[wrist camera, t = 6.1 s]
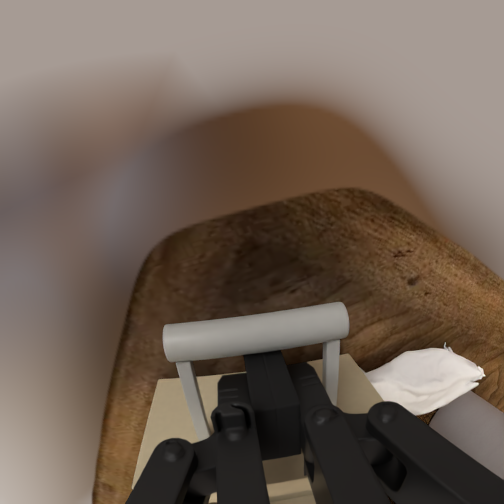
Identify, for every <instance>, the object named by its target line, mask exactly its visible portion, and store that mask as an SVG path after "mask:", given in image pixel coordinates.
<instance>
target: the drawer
mask: <svg viewBox="0 0 504 504" xmlns="http://www.w3.org/2000/svg"><path fill="white" fill-rule="evenodd" d="M348 333H349V317H348V313H347V310H346V308H345V306H344V304H343V303H342V302H334V303H328V304H322V305H316V306H310V307H304V308H297V309H291V310H284V311H277V312H270V313H263V314H256V315H248V316H240V317H232V318H224V319H215V320H206V321H197V322H187V323H176V324H167V325H165V326H164V329H163V346H164V351H165V355H166V357H167V359H168V361H169V362H176V366H177V370H178V374H179V377H180V378H174V379H159V380H158V383H157V387H156V390H155V394H154V398H153V401H152V405H151V409H150V413H149V417H148V420H147V424H146V428H145V432H144V436H143V440H142V444H141V449H140V453H139V457H138V461H137V466H136V470H135V474H134V479H133V484H132V490H133V488H134V486H135V484H136V483H137V481H138V479H139V477H140V475H141V473H142V471H143V469H144V468H145V466H146V464H147V462H148V460H149V458H150V456H151V454H152V452H153V450H154V449H155V447H156V446H157V445H158V444H159V443H161V442H162V441H164V440H166V439H170V438H182V439H185V440H187V441H189V442H190V443H191V444H192V443H195V442H199V441H202V440H204V439H207V438H208V437H210V436H211V435H212V434H213V433H214V428H213V424H212V421H211V413H212V411H213V410H214V409H215V408H216V407H217V406H218V391H217V383H218V381H219V380H220V378H221V377H222V375H229V374H222V375H212V376H201V377H196V373H195V369H194V365H193V360H204V359H214V358H223V357H232V356H240V355H248V354H255V353H263V352H269V351H276V350H282V349H288V348H294V347H300V346H306V345H311V344H317V343H322V342H323V359H320V360H315V361H309V362H307V363H308V364H310V365H311V366H312V367H314V369H315V371H316V373H317V374H318V376H319V378H320V380H321V382H322V384H323V386H324V388H325V390H326V392H327V394H328V396H329V398H330V400H331V402H332V404H333V405H334V406H337V407H339V408H340V409H341V410H342V411H343V412H345V413H350V414H361V413H368V411H369V409H370V408H371V407H372V406H373V405H374V404H376V403H379V402H383V401H384V400H383V399H382V397H381V396H380V395H379V393H378V392H377V391H376V389H375V388H374V387H373V385H372V384H371V383H370V381H369V380H368V379H367V377H366V376H365V375H364V373H363V372H362V370H361V369H360V368H359V366H358V365H357V364H356V362H355V361H354V360H353V358H352V357H351V356H350V354H349V353H348V354H343V355H340V339H342V338H345V337H347V335H348ZM239 373H245V372H239ZM231 374H237V373H231ZM262 463H263V468H264V474H265V479H266V484H267V490H268V495H269V500H270V504H316V502H315V499H314V496H313V492H312V489H311V486H310V483H309V480H308V476H307V475H306V476H304V455H303V452H302V449H301V454H299V455H294V456H289V457H284V458H278V459H272V460H265V461H262ZM208 504H217V492H215V493H212V494H211V496H210V499H209V503H208Z"/></svg>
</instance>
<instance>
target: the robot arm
mask: <svg viewBox="0 0 504 504" xmlns="http://www.w3.org/2000/svg"><path fill="white" fill-rule="evenodd" d="M244 361H245V368H246V372H245V373H237V374H229V375H222V377H221V378H220V380H219V381H218V383H217V391H218V406H217V407H216V408H215V409H214V410H213V411H212V413H211V421H212V424H213V428H214V433H213V434H212V435H211V436H210V437H208V438H207V439H204V440H202V441H199V442H195V443H192V444H191V443H190V442H189V441H187V440H185V439H182V438H170V439H166V440H164V441H162V442H161V443H159V444H158V445H157V446H156V447H155V449H154V450H153V452H152V454H151V456H150V458H149V460H148V462H147V464H146V466H145V468H144V469H143V471H142V473H141V475H140V477H139V479H138V481H137V483H136V484H135V486H134V488H133V490H132V492H131V494H130V496H129V498H128V500H127V501H126V503H125V504H208V503H209V499H210V496H211V494H212V493H215V492H217V504H270V500H269V495H268V490H267V484H266V479H265V474H264V468H263V463H262V461H265V460H272V459H278V458H284V457H289V456H294V455H299V454H301V449H302V452H303V455H304V476H306V475H307V476H308V480H309V483H310V486H311V489H312V492H313V496H314V499H315V502H316V504H391V502H390V501H389V499H388V497H387V495H388V496H389V497H390V498H391V499H392V500H393V501H394V502H395V503H396V504H504V480H503V479H502V478H500V477H499V476H497V475H496V474H494V473H493V472H492V471H490V470H489V469H487V468H486V467H484V466H483V465H482V464H480V463H479V462H477V461H476V460H475V459H473V458H472V457H470V456H469V455H468V454H466V453H465V452H464V451H462V450H461V449H459V448H458V447H457V446H455V445H454V444H453V443H451V442H450V441H448V440H447V439H446V438H444V437H443V436H442V435H440V434H439V433H438V432H436V431H435V430H434V429H432V428H431V427H430V426H428V425H427V424H426V423H424V422H423V421H422V420H420V419H419V418H418V417H416V416H415V415H414V414H412V413H411V412H410V411H408V410H407V409H406V408H404V407H403V406H402V405H400V404H398V403H396V402H391V401H383V402H379V403H376V404H374V405H373V406H372V407H371V408H370V409H369V411H368V413H361V414H350V413H345V412H343V411H342V410H341V409H340V408H339V407H337V406H334V405H333V404H332V402H331V400H330V398H329V396H328V394H327V392H326V390H325V388H324V386H323V384H322V382H321V380H320V378H319V376H318V374H317V373H316V371H315V369H314V367H312V366H311V365H310V364H308V363H307V362H303V363H297V364H292V365H286V363H285V361H284V358H283V355H282V352H281V350H276V351H269V352H263V353H255V354H248V355H244ZM386 494H387V495H386Z"/></svg>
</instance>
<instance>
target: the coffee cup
mask: <svg viewBox="0 0 504 504" xmlns="http://www.w3.org/2000/svg"><path fill="white" fill-rule="evenodd" d="M429 426H430V427H431V428H432V429H434V430H435V431H436V432H438V433H439V434H440V435H442V436H443V437H444V438H446V439H447V440H448V441H450V442H451V443H453V444H454V445H455V446H457V447H458V448H459V449H461V450H462V451H464V452H465V453H466V454H468V455H469V456H470V457H472V458H473V459H475V460H476V461H477V462H479V463H480V464H482V465H483V466H484V467H486V468H487V469H489V470H490V471H492V472H493V473H494V474H496V475H497V476H499V477H500V478H502V479H503V480H504V413H503V412H501V411H500V410H499V409H497V408H496V407H494V406H493V405H491V404H490V403H488V402H487V401H485V400H484V399H482V398H481V397H479V396H478V395H477V394H475V393H474V392H472V391H471V390H470V391H468V392H467V393H465V394H463V395H461V396H459V397H458V398H456V399H454V400H453V401H451V402H450V403H448V404H447V405H445V406H443V407H440V409H439V410H438V411H437V412H436V414H435V415H434V417H433V418H432V420H431V422H430V424H429Z"/></svg>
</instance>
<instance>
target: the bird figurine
mask: <svg viewBox="0 0 504 504" xmlns="http://www.w3.org/2000/svg"><path fill="white" fill-rule="evenodd" d="M445 345H446V342H445ZM445 345H444V349H440V348H428V349H423V350H416V351H406V352H404V353H402V354H401V355H399V356H398V357H396V358H394V359H393V360H392V361H391V362H389V363H386V364H385V365H383V366H381V367H379V368H377V369H375V370H372V371H369V372H367V373H365V372H364V371H363V370H362V369H361V368H360V367H359V368H360V369H361V370H362V372H363V373H364V375H365V376H366V377H367V379H368V380H369V381H370V383H371V384H372V385H373V387H374V388H375V389H376V391H377V392H378V393H379V395H380V396H381V397H382V399H383V400H384V401H391V402H396V403H398V404H400V405H402V406H403V407H404V408H406V409H407V410H408V411H410V412H411V413H412V414H414V415H422V414H426V413H429V412H431V411H433V410H436V409H438V408H440V407H443V406H445V405H447V404H448V403H450V402H451V401H453V400H454V399H456V398H458V397H459V396H461V395H463V394H465V393H467V392H468V391H470V390H471V389H473V388H475V387H476V386H478V385H479V383H475V382H474V381H476V380H478V379H482V377H484V376H485V375H484V371H483V368H481V367H480V366H478V367H477V366H476V365H475V363H473V362H471V361H469V360H467V359H465V358H463V357H462V356H459V355H457V354H455V353H453V351H452V349H451V348H450V347H448V349H447V348H446V346H445Z"/></svg>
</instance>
